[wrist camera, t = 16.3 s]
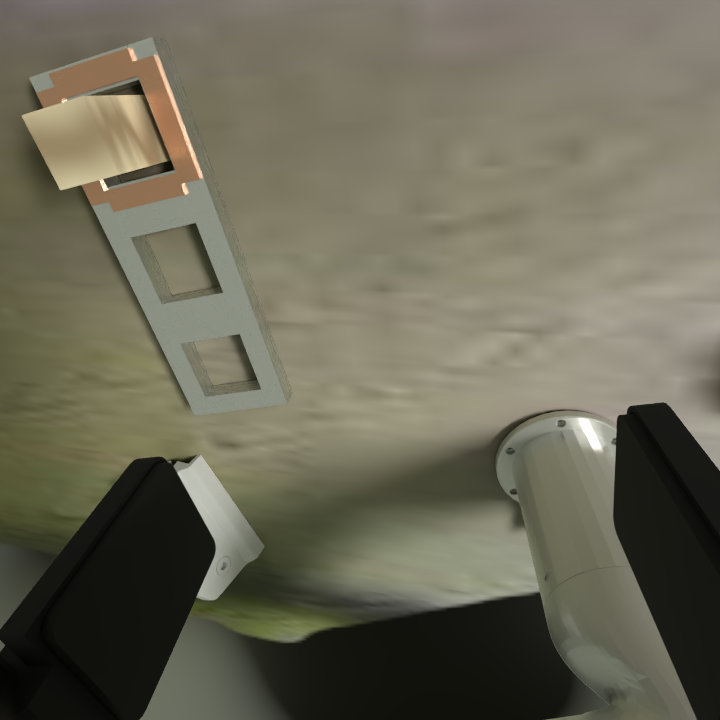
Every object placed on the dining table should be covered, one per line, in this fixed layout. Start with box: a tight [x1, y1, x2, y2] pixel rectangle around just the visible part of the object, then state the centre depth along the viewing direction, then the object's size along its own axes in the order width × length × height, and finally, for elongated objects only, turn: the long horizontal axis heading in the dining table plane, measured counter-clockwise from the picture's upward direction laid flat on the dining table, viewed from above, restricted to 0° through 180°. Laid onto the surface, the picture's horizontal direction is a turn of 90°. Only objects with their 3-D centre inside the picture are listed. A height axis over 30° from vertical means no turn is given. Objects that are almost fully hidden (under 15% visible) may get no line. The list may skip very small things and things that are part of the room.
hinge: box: [167, 455, 265, 600], centre depth 54 cm, size 17×5×10 cm, turn 22°
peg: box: [21, 95, 171, 191], centre depth 32 cm, size 4×4×8 cm
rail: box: [29, 37, 292, 416], centre depth 40 cm, size 30×10×2 cm, turn 13°
